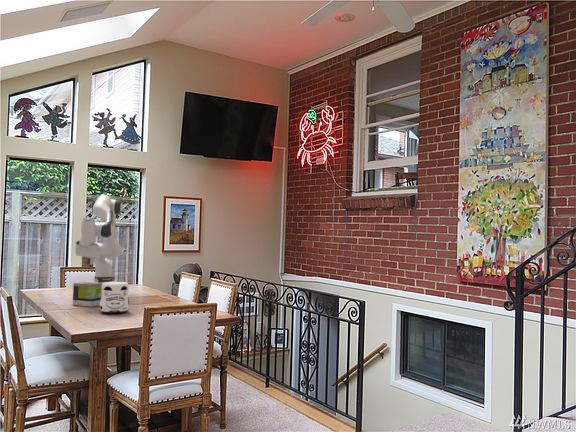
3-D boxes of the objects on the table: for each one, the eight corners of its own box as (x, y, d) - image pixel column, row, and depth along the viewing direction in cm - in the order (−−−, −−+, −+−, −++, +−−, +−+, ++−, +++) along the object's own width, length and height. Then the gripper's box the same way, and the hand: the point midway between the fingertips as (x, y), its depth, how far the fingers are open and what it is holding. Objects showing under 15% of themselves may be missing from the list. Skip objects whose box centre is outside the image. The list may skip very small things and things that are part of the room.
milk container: (111, 316, 290) (113, 285, 291) (93, 312, 300) (94, 283, 300) (135, 312, 305) (136, 283, 305) (116, 308, 314) (117, 280, 314)
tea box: (101, 305, 326) (102, 282, 326) (90, 307, 316) (91, 284, 317) (83, 303, 331) (83, 281, 331) (72, 305, 321) (72, 282, 321)
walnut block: (88, 266, 322) (88, 257, 322) (93, 267, 319) (93, 258, 319) (81, 267, 318) (81, 258, 317) (86, 268, 315) (86, 258, 315)
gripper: (102, 243, 315) (102, 264, 316) (82, 241, 326) (81, 262, 326) (94, 243, 310) (94, 265, 310) (73, 241, 321) (73, 262, 321)
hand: (87, 263), depth 318 cm, fingers closed on walnut block, 5 cm apart
